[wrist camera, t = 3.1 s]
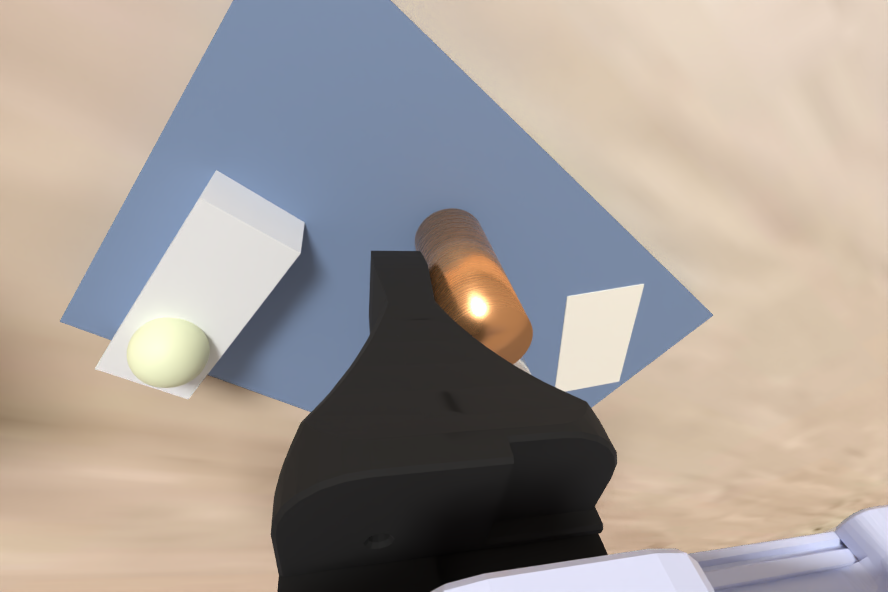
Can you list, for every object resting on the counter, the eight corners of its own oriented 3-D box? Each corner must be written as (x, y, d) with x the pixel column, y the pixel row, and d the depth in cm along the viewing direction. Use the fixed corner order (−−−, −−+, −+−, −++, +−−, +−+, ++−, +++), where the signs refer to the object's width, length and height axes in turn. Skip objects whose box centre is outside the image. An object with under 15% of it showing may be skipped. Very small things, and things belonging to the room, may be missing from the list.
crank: (516, 404, 18) (557, 509, 15) (392, 426, 18) (405, 540, 14) (534, 198, 13) (606, 288, 9) (356, 219, 12) (363, 324, 9)
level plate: (694, 296, 18) (768, 369, 15) (490, 457, 23) (515, 540, 20) (293, -96, 9) (269, -119, 6) (78, 296, 14) (-2, 402, 10)
